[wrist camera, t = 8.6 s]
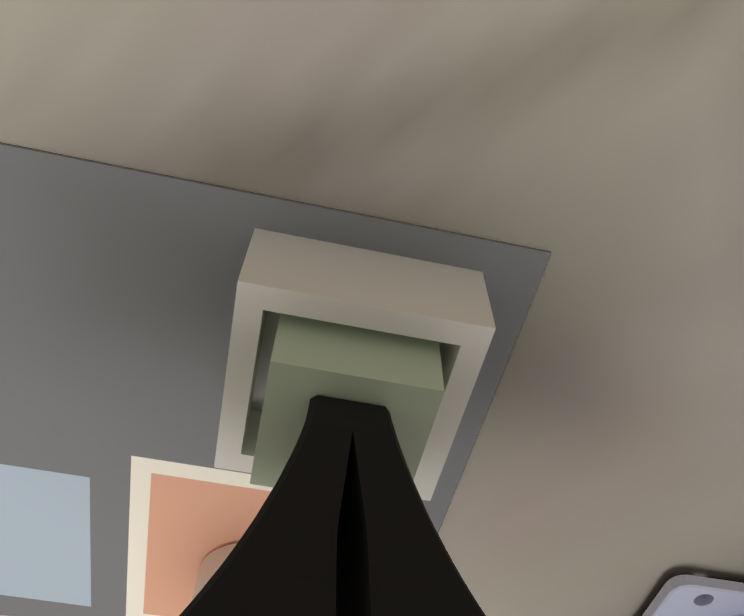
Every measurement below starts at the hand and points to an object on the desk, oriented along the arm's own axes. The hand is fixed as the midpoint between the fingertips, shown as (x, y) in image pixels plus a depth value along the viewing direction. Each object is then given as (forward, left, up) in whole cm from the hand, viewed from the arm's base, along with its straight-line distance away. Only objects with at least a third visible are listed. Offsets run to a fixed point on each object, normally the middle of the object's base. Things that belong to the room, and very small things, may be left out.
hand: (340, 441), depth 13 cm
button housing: (0, 0, -3) cm, 3 cm away
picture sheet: (+4, +5, -3) cm, 7 cm away
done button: (0, 0, -2) cm, 2 cm away
